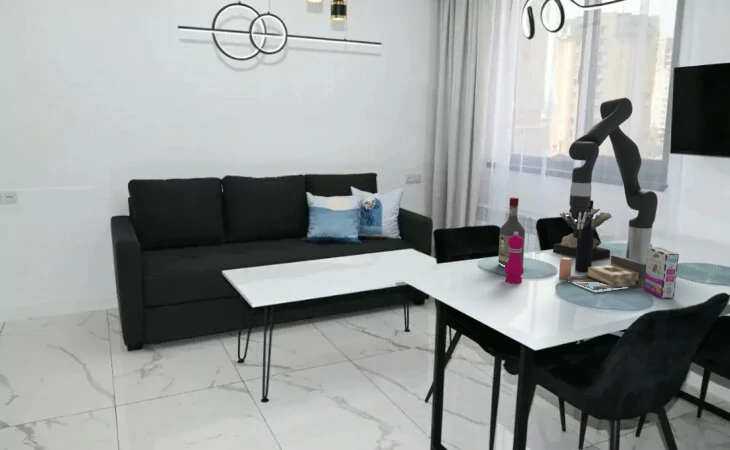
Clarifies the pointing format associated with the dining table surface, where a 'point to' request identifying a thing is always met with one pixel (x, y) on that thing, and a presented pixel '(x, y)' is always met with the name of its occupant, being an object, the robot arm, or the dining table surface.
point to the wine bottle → (585, 247)
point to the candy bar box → (661, 272)
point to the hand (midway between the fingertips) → (577, 238)
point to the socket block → (612, 274)
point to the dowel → (565, 268)
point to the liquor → (510, 233)
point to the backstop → (623, 263)
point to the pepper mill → (514, 259)
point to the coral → (570, 242)
